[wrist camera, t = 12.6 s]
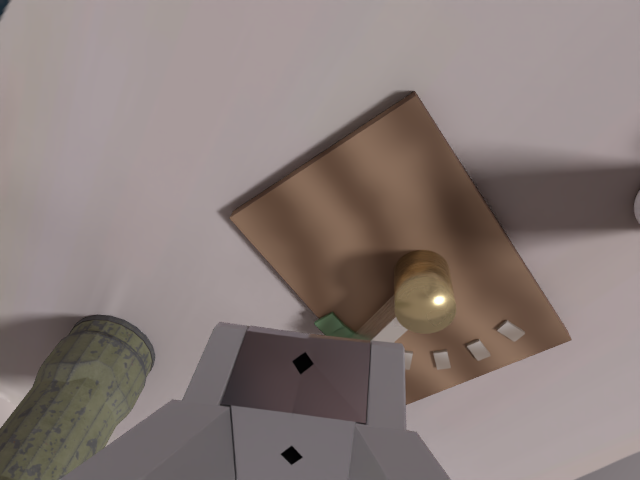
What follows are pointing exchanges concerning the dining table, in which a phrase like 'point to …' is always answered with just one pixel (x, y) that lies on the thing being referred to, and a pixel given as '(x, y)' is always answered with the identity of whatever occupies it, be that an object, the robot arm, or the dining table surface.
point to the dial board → (402, 247)
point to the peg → (414, 299)
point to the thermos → (76, 399)
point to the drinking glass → (637, 207)
